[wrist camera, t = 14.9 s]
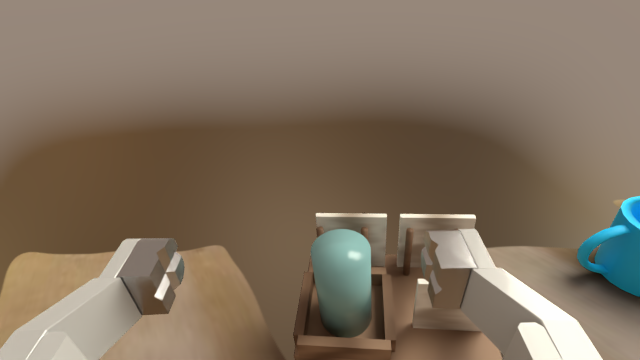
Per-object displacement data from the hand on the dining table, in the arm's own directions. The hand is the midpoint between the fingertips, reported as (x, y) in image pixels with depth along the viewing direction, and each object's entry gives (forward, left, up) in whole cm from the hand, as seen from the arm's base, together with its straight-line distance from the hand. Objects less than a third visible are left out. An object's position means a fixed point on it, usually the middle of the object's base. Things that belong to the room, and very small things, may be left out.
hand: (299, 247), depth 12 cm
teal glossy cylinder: (0, +15, -26) cm, 30 cm away
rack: (+5, +18, -27) cm, 32 cm away
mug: (+32, +24, -27) cm, 48 cm away
